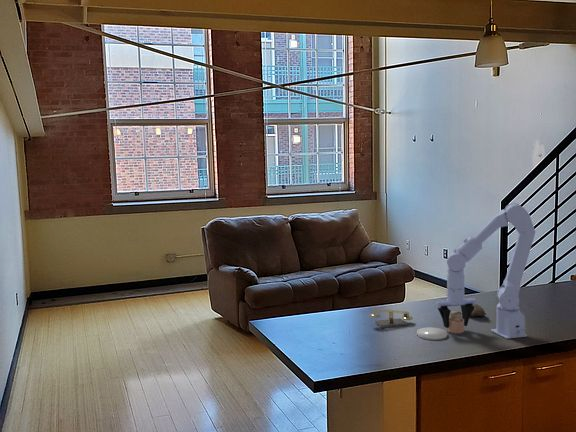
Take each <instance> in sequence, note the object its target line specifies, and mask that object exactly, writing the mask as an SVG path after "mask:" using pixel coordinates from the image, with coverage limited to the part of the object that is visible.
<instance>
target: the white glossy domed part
mask: <svg viewBox="0 0 576 432" xmlns="http://www.w3.org/2000/svg"><path fill="white" fill-rule="evenodd" d="M417 335H418V336H419V337H418V336H417ZM416 336H417V337H418V338H420V337H421V338H420V339H424V340H430V341H439V340H444V339H446V338H447V337H448V331H447V330H445V329H444V328H440V327H439V328H438V327H429V326H428V327H421V328H418V329H417V330H416Z"/></svg>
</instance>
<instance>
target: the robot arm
mask: <svg viewBox="0 0 576 432" xmlns="http://www.w3.org/2000/svg"><path fill="white" fill-rule="evenodd" d="M509 223H510V224H511V225H513V227H514V228H515V230H516V231H517V233H518V235H517V237H516V238H517V239H516V241H515V246H514V248H513V249H514V250H513V252H512V256H511V259H510V262H509V266H508V269H507V272H506V275H505V278H504V279H503V283H502V285H501V286H500V287H499V288H498V289H497V292H496V297H497V299H498V301H499V302H498V304H496V320H495V321H496V324H495V325H496V327H495V328H491V329H490V331H491V332H492V333H495V334H497V335H498V336H501V337H503V338H505V339H516V338H525V337H528V334H526V316H525V315H524V313H523V312H521V310H520V306H519V304H520V296H519V294H520V290H521V282H522V279H523V275H524V272H525V269H526V265H527V261H528V259H529V255H530V252H531V249H532V245H533V241H534V240H535V239H534V238H535V235H536V229H535V227H534V224H533V221H532V219H531V215H530V213H529V211H527V209H525V207H524V206H521V205H520V204H518V203H517V202H512V203H509V204H507V205H506V206H505V208H504V209H501V210H500V211H499V212H497V213H496V214H495V215H494V216H493V217H492V218H491V219H490V220H489V221H488V223H486V224H485V226H484V227H483V228H481V230H480V231H479V232H478V233H477V234H476V235H475V236H468V237H464V239H463V240H462V241H463V243H462V244H460V245H459V246H458V247H457V248H454V249H453V251H452V253H450V254H449V255H448V256H447V259H446V265H447V276H446V281H447V282H446V299H442V300H435V302H434V303H435V304H434V306H435V308H436V309H437V310H438V312H439V314H440V316H441V319H442V323H443V327H444V328H446V329H447V328H449V318H450V317H451V312H452V311H451V309H449V307H458V306H459V307H460V308H461V318H462V319H464V327H468V324H469V320H470V317H471V316H470V315H471V313H472V311H473V310H474V306H472V305H476V304H477V303H476V302H477V299H476V298H474V297H469V298H468V297H467V298H466V297H465V274H464V273H465V272H464V271H465V267H466V263H468V262H470V261H471V260H472V259H473V258H474V257H475V256H476V255H477V254H478V253H479V252H480V251H481V250H482V249H483V243H484V242H485V241H486V240H488V238H490V237H491V236H492V235H493V234H494V233H495V232H496V231H497V230H499V228H504V227H509V226H510V224H509Z"/></svg>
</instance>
